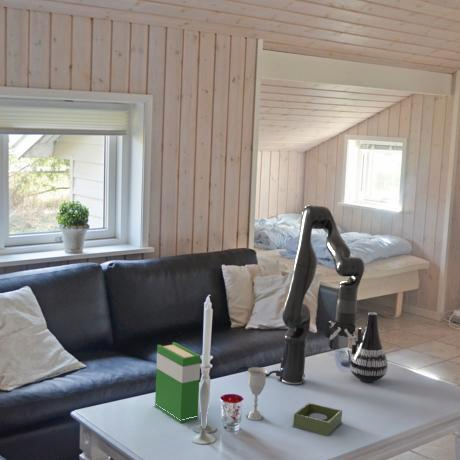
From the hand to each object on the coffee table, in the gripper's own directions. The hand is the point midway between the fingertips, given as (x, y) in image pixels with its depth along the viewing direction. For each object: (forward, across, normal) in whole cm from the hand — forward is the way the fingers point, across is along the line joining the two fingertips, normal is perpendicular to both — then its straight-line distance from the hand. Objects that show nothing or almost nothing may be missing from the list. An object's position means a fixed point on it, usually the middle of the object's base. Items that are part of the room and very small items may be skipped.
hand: (342, 351), depth 294 cm
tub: (+24, +1, +17) cm, 29 cm away
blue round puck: (+23, +1, +17) cm, 28 cm away
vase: (+24, +2, -39) cm, 46 cm away
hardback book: (+24, +48, +38) cm, 66 cm away
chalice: (+24, +23, +24) cm, 41 cm away
